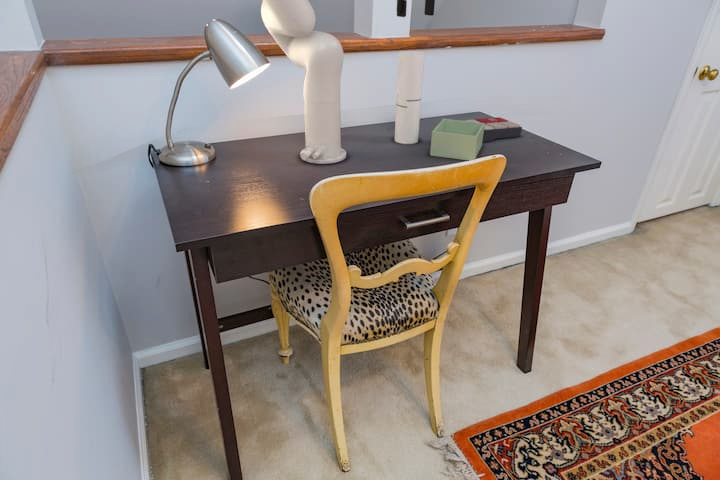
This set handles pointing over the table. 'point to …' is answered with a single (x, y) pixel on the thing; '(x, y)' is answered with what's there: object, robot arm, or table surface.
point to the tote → (457, 139)
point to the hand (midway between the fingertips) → (415, 15)
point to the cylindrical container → (409, 96)
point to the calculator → (498, 128)
